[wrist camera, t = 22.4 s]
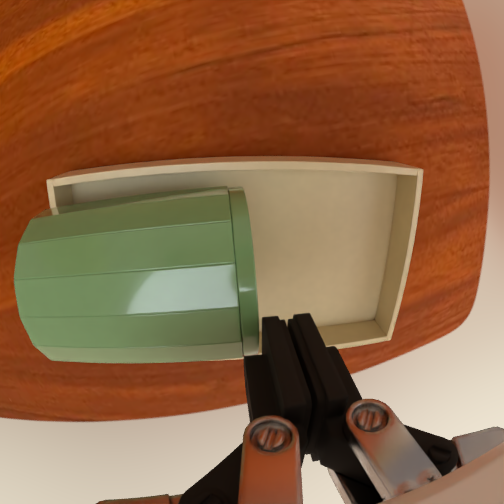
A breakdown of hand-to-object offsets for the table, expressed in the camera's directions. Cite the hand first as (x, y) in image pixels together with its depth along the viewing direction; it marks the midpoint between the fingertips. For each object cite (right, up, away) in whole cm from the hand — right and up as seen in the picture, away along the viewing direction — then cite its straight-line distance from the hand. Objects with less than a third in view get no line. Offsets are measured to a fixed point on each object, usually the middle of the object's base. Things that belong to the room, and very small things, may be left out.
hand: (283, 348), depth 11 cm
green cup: (-1, +3, +2) cm, 4 cm away
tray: (-2, +3, +7) cm, 8 cm away
